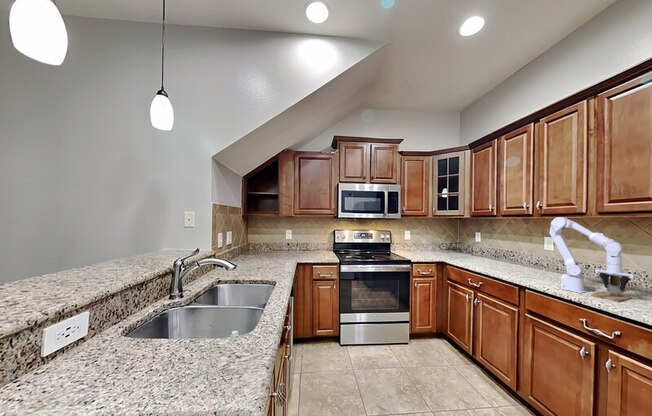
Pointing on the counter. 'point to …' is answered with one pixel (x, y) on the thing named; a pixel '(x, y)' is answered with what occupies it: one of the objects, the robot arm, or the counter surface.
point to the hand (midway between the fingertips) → (614, 289)
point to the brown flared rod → (615, 280)
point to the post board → (611, 296)
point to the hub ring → (614, 288)
